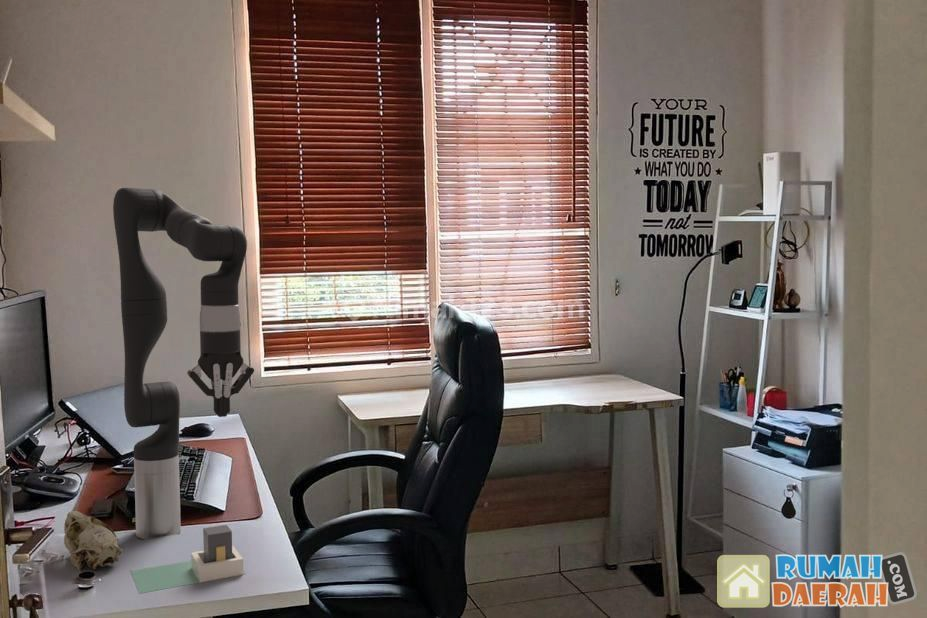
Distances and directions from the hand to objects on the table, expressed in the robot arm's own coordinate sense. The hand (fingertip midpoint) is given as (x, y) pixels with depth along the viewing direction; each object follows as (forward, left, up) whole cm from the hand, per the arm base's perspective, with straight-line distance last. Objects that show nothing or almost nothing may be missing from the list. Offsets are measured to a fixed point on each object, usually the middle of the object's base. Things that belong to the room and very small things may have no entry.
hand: (221, 416), depth 165 cm
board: (+4, -8, -30) cm, 31 cm away
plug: (+6, -3, -29) cm, 29 cm away
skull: (-11, -24, -30) cm, 40 cm away
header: (+6, -3, -29) cm, 29 cm away
